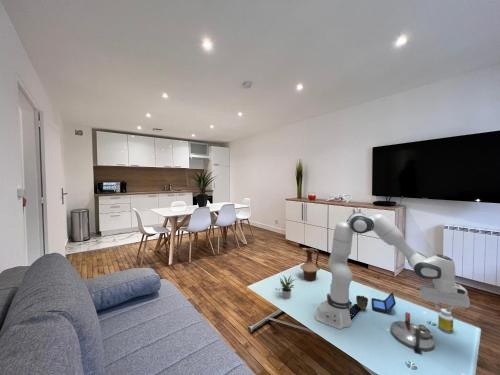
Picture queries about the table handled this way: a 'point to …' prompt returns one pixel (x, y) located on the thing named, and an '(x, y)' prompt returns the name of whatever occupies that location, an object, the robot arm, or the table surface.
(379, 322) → the table surface
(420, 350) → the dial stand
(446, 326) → the pill bottle
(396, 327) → the turntable
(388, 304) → the handheld game console
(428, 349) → the turntable base
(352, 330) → the table surface
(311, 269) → the pitcher
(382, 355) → the table surface
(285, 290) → the house plant
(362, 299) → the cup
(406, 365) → the table surface
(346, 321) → the robot arm
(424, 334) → the cover
